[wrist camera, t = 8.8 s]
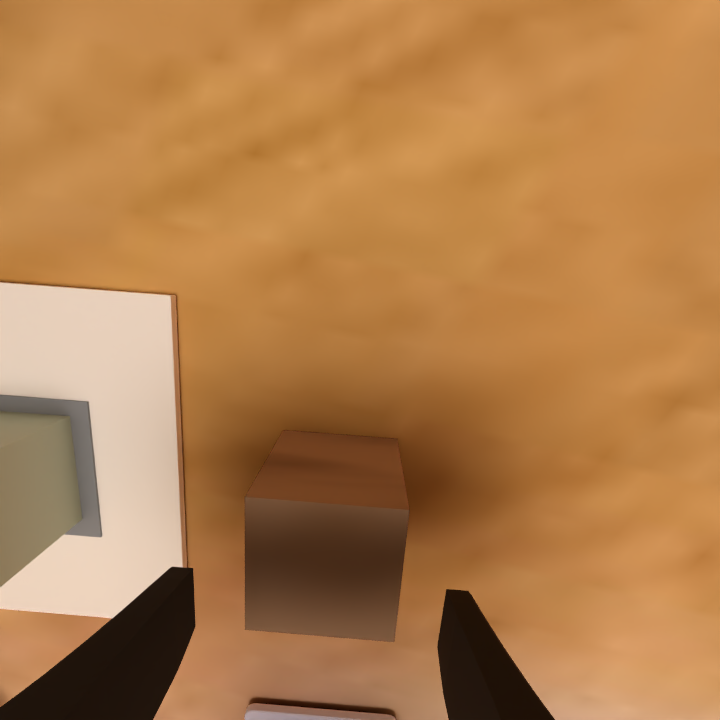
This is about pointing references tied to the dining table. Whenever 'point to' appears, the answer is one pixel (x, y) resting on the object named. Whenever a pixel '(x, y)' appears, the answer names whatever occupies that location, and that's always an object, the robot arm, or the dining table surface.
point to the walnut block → (326, 537)
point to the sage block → (35, 487)
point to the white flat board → (100, 438)
